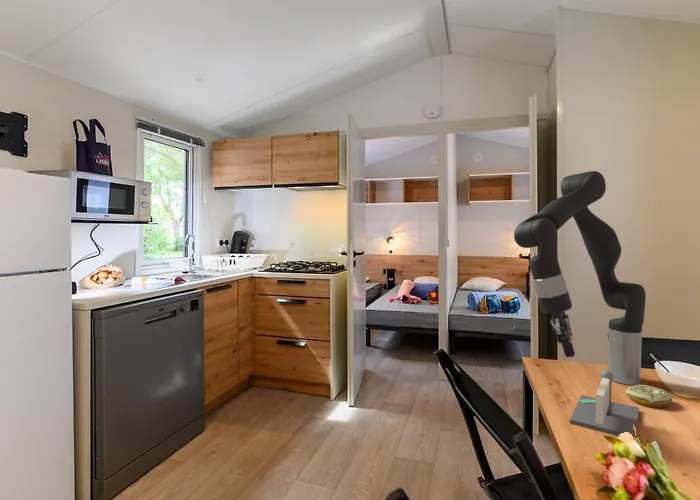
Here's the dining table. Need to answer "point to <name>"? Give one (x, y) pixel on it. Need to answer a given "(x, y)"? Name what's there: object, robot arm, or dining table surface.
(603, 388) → the grey upright panel
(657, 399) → the decorated donut
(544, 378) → the dining table surface
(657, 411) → the dining table surface
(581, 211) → the robot arm
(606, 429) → the dial plate
